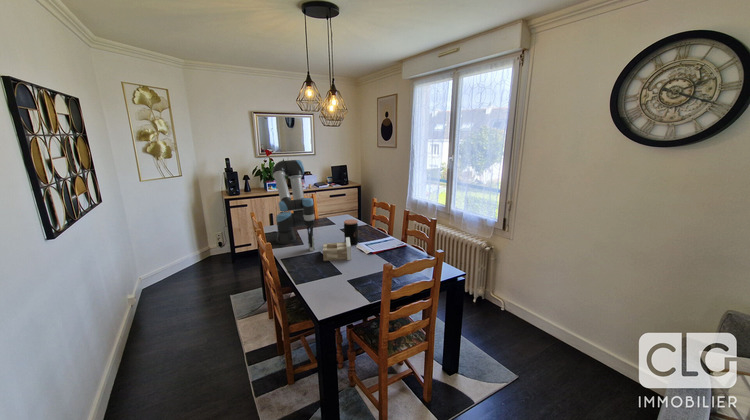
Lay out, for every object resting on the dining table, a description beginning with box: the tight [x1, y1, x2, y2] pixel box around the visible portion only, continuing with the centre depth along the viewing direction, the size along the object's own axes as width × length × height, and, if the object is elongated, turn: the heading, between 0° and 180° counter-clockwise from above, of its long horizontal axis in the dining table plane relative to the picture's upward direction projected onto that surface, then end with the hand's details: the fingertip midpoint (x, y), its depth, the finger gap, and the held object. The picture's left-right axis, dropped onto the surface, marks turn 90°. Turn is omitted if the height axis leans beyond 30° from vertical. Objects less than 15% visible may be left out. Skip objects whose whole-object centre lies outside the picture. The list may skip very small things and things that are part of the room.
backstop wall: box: [346, 237, 352, 261], centre depth 204 cm, size 18×3×10 cm, turn 8°
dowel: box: [307, 235, 316, 252], centre depth 215 cm, size 4×4×10 cm
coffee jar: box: [343, 219, 360, 246], centre depth 225 cm, size 11×11×18 cm
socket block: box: [322, 241, 347, 262], centre depth 204 cm, size 14×16×7 cm
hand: (311, 249), depth 216 cm, fingers closed on dowel, 4 cm apart
